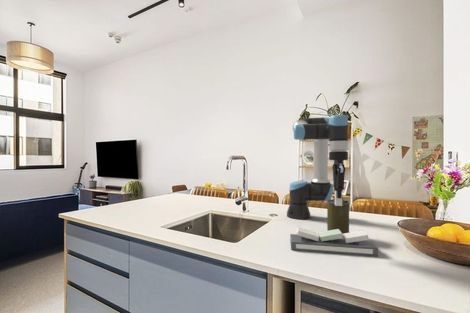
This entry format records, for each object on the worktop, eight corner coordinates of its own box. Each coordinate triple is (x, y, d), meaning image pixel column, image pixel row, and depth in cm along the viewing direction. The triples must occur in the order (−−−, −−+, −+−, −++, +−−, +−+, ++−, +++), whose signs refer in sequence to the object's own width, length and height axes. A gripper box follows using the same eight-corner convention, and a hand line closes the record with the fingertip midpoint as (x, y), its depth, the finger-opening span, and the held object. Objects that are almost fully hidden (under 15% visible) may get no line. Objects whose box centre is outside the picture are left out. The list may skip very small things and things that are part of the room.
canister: (336, 240, 111) (336, 198, 111) (322, 233, 121) (322, 195, 121) (355, 238, 114) (355, 197, 114) (340, 231, 124) (340, 194, 124)
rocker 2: (342, 238, 104) (341, 233, 104) (364, 234, 102) (362, 230, 102) (346, 243, 98) (345, 238, 98) (369, 239, 96) (367, 234, 96)
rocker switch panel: (290, 241, 110) (290, 231, 110) (368, 246, 103) (368, 236, 103) (291, 250, 100) (291, 239, 100) (378, 256, 93) (378, 245, 93)
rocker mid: (319, 236, 106) (317, 232, 106) (339, 233, 104) (338, 228, 104) (321, 241, 100) (320, 237, 100) (343, 237, 98) (341, 233, 98)
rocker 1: (296, 230, 108) (297, 226, 108) (316, 236, 106) (317, 232, 106) (297, 235, 102) (298, 230, 102) (318, 241, 100) (319, 236, 100)
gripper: (326, 151, 108) (326, 202, 108) (332, 150, 96) (332, 208, 95) (343, 151, 107) (343, 202, 107) (352, 150, 94) (352, 209, 94)
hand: (338, 205), depth 101 cm, fingers closed
